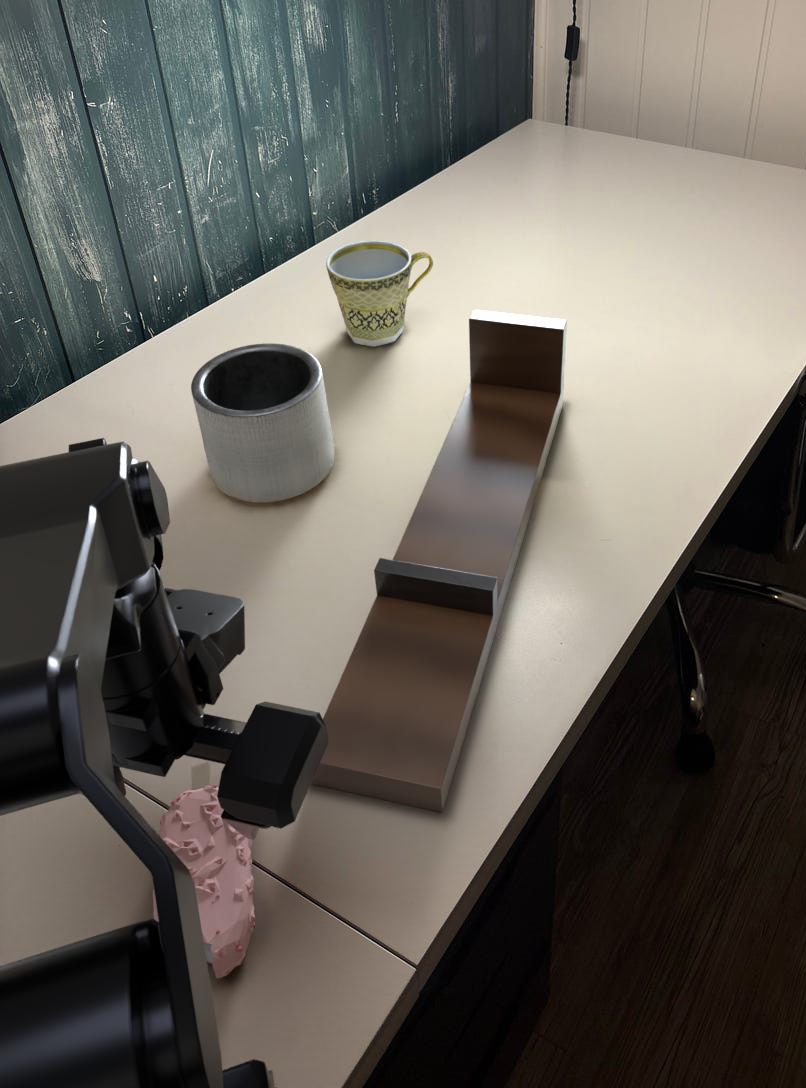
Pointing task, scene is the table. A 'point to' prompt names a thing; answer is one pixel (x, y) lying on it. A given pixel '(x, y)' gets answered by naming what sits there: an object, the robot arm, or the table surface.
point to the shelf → (449, 574)
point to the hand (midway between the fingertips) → (186, 816)
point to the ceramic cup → (373, 288)
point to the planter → (264, 421)
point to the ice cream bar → (213, 870)
